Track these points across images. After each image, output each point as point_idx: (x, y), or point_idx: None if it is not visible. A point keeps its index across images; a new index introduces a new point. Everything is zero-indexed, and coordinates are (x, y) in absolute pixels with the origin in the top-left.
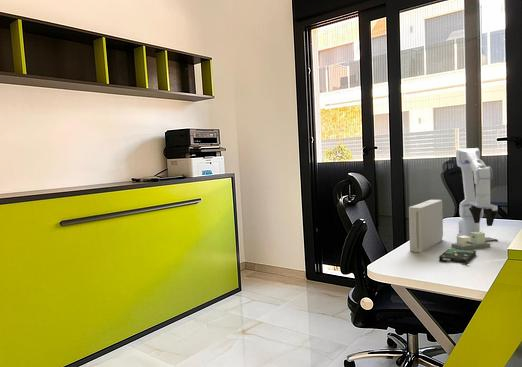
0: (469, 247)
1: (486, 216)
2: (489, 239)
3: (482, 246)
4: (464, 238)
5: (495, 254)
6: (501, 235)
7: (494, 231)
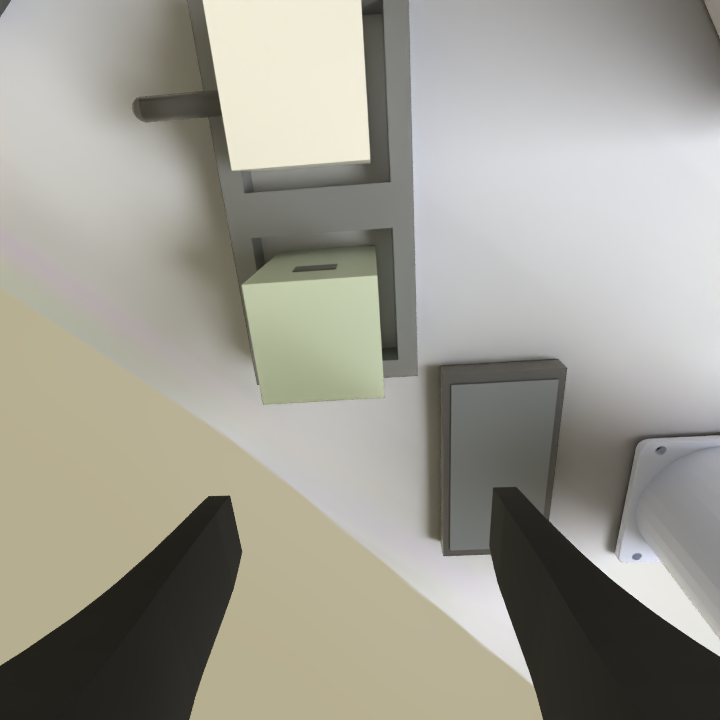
0: None
1: (108, 627)
2: (467, 508)
3: None
4: (209, 35)
5: (49, 262)
6: None
7: None
